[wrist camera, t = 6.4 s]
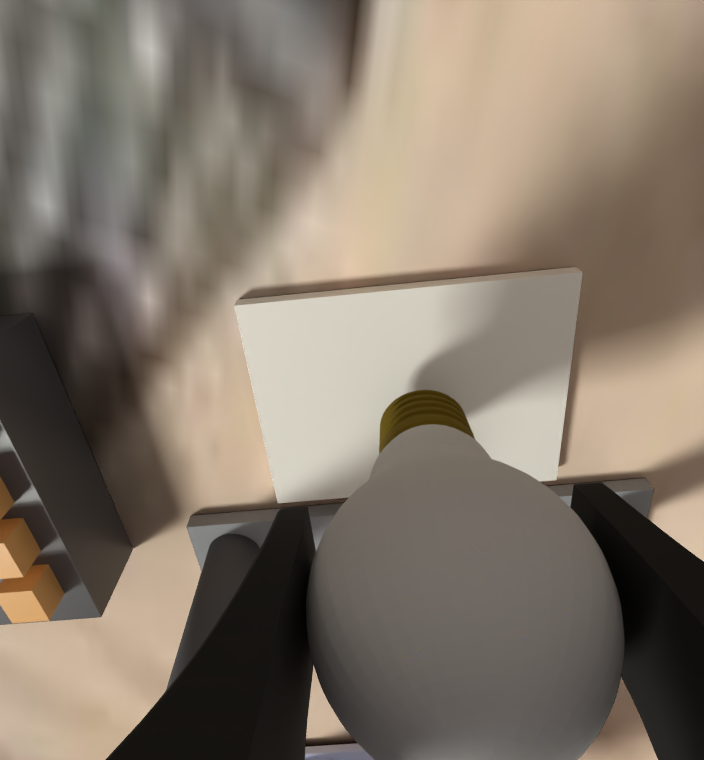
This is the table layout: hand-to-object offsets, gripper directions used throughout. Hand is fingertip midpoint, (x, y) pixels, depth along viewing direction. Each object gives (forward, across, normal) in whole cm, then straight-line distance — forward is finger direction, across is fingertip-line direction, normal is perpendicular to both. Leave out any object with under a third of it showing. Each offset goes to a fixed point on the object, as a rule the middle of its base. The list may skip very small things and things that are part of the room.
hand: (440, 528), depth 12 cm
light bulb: (+5, 0, 0) cm, 5 cm away
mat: (+6, 0, 0) cm, 6 cm away
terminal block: (+6, +13, +1) cm, 14 cm away
